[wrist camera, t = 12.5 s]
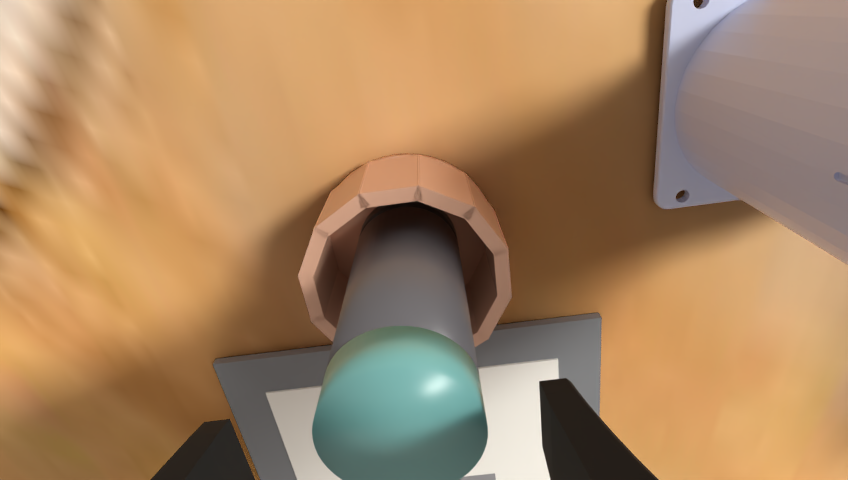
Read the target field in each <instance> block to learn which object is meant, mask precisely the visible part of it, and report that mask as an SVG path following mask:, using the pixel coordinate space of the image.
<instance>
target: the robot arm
mask: <svg viewBox="0 0 848 480" xmlns="http://www.w3.org/2000/svg"><path fill="white" fill-rule="evenodd" d="M693 1H694V0H667V4H666V15H665V30H664V44H663V59H662V74H661V88H660V103H659V118H658V132H657V147H656V162H655V176H654V191H653V199H654V202H655V203H656V204H657V205H658V206H659V207H661V208H663V209H674V208H681V207H689V206H697V205H704V204H712V203H720V202H727V201H735V200H742V201H744V202H746V203H747V204H749V205H751V206H752V207H754V208H755V209H757V210H759V211H760V212H762V213H764V214H765V215H767V216H769V217H770V218H772V219H773V220H775V221H777V222H778V223H780V224H782V225H783V226H785V227H787V228H788V229H790V230H792V231H793V232H795V233H796V234H798V235H800V236H801V237H803V238H805V239H806V240H808V241H810V242H811V243H813V244H814V245H816V246H818V247H819V248H821V249H823V250H824V251H826V252H828V253H829V254H831V255H832V256H834V257H836V258H837V259H839V260H841V261H842V262H844V263H846V264H847V265H848V0H703V2H702V4H701V5H700V6H699V7H698V8H696V7H695V6H694V3H693ZM682 190H684V191H685V192H684V195H683V196H682V197H681V198H679V199H676V195H677V193H678V192H679V191H682ZM539 390H540V411H541V431H542V447H543V451H544V455H545V459H546V464H547V468H548V472H549V476H550V480H658V479H657V478H656V477H655V476H654V475H653V474H652V473H651V472H650V471H649V470H648V469H647V468H646V467H645V466H644V465H643V464H642V463H641V462H640V461H639V460H638V459H637V458H636V457H635V456H634V455H633V454H632V452H631V451H630V450H629V449H628V448H627V447H626V446H625V445H624V444H623V443H622V442H621V441H620V440H619V439H618V438H617V436H616V435H615V434H614V433H613V432H612V431H611V430H610V429H609V428H608V426H607V425H606V424H605V423H604V422H603V421H602V420H601V418H600V417H599V416H598V415H597V414H596V413H595V411H594V410H593V409H592V408H591V407H590V405H589V404H588V403H587V402H586V400H585V399H584V398H583V397H582V395H581V394H580V393H579V392H578V390H577V389H576V388H575V386H574V385H573V384H572V382H571V381H570V380H568V379H567V378H561V379H553V380H545V381H539ZM151 480H255V479H254V476H253V474H252V472H251V469H250V467H249V464H248V462H247V460H246V457H245V455H244V452H243V450H242V448H241V445H240V443H239V440H238V438H237V436H236V433H235V431H234V428H233V426H232V424H231V421H230V419H226V420H218V421H210V422H204V423H203V424H202V425H201V426H200V427H199V428H198V429H197V430H196V431H195V432H194V433H193V434H192V435H191V436H190V438H189V439H188V440H187V441H186V442H185V443H184V444H183V445H182V446H181V447H180V448H179V449H178V451H177V452H176V453H175V454H174V455H173V456H172V457H171V458H170V459H169V460H168V461H167V463H166V464H165V465H164V466H163V467H162V468H161V469H160V470H159V471H158V472H157V473H156V474H155V476H154V477H153V478H152V479H151Z"/></svg>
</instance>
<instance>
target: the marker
mask: <svg viewBox="0 0 848 480" xmlns="http://www.w3.org/2000/svg"><path fill="white" fill-rule="evenodd" d="M312 439H313V443H314V447H315V449H316V451H317V454H318V456H319V457H320V459H321V460H322V462H323V463H324V464H325V465H326V467H327V468H328V469H329V470H330V471H331V472H333V473H334V474H335V475H336V476H337V477H339V478H340V479H342V480H460V479H461V478H463V477H464V476H465V475H466V474H468V473H469V472H470V471H471V470H472V469H473V468H474V467H475V466H476V464H477V463H478V461H479V460H480V459H481V457H482V455H483V453H484V451H485V448H486V444H487V439H488V426H487V419H486V413H485V407H484V401H483V395H482V389H481V382H480V376H479V370H478V364H477V358H476V352H475V345H474V339H473V333H472V327H471V321H470V315H469V308H468V302H467V296H466V290H465V284H464V278H463V271H462V265H461V259H460V253H459V247H458V241H457V235H456V230H455V228H454V225H453V223H452V221H451V219H450V218H449V217H448V215H447V214H446V213H445V212H444V211H443V210H440V209H437V208H435V207H432V206H429V205H427V204H424V203H421V202H419V201H413V202H406V203H398V204H391V205H384V206H378V207H377V208H376V209H374V210H373V211H372V212H371V213H370V214H369V216H368V217H367V218H366V220H365V222H364V224H363V226H362V229H361V232H360V236H359V240H358V244H357V248H356V252H355V256H354V260H353V264H352V268H351V272H350V276H349V280H348V284H347V288H346V292H345V296H344V300H343V304H342V308H341V312H340V316H339V320H338V324H337V328H336V332H335V336H334V340H333V344H332V348H331V352H330V356H329V360H328V364H327V368H326V372H325V376H324V380H323V384H322V388H321V392H320V396H319V400H318V403H317V407H316V411H315V415H314V419H313V425H312Z"/></svg>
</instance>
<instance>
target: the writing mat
mask: <svg viewBox="0 0 848 480" xmlns="http://www.w3.org/2000/svg"><path fill="white" fill-rule="evenodd" d="M601 320H602V318H601V316H600V314H599V313H591V314H583V315H575V316H567V317H558V318H550V319H542V320H534V321H525V322H517V323H509V324H500V325H496V326H495V328H494V330H493V332H492V333H491V335H490V337H489V339H488V340H486V341H484V342H483V343H481V344H479V345H478V346H476V347H475V352H476V358H477V364H478V370H479V376H480V382H481V389H482V395H483V401H484V407H485V413H486V419H487V426H488V439H487V444H486V448H485V451H484V453H483V455H482V457H481V459H480V460H479V461H478V463H477V464H476V466H475V467H474V468H473V469H472V470H471V471H470V472H469V473H468V474H466V475H465V476H464V477H463V478H461V479H460V480H550V476H549V472H548V468H547V464H546V459H545V455H544V451H543V447H542V431H541V411H540V390H539V381H545V380H553V379H561V378H567V379H568V380H570V381H571V382H572V384H573V385H574V386H575V388H576V389H577V390H578V392H579V393H580V394H581V395H582V397H583V398H584V399H585V400H586V402H587V403H588V404H589V405H590V407H591V408H592V409H593V410H594V411H595V413H596V414H597V415H598V416H599V411H600V366H601ZM331 348H332V345H326V346H318V347H310V348H302V349H293V350H285V351H277V352H268V353H260V354H252V355H244V356H235V357H227V358H219V359H215V361H214V363H213V367H214V369H215V371H216V374H217V376H218V379H219V381H220V384H221V386H222V388H223V391H224V393H225V396H226V398H227V400H228V403H229V405H230V408H231V410H232V413H233V415H234V417H235V420H236V422H237V425H238V427H239V429H240V432H241V434H242V437H243V439H244V441H245V444H246V446H247V449H248V451H249V454H250V456H251V458H252V461H253V463H254V466H255V468H256V470H257V473H258V475H259V478H260V480H342V479H340V478H339V477H337V476H336V475H335V474H334V473H333V472H331V471H330V470H329V469H328V468H327V467H326V465H325V464H324V463H323V462H322V460H321V459H320V457H319V456H318V454H317V451H316V449H315V447H314V443H313V439H312V425H313V419H314V415H315V411H316V407H317V403H318V400H319V396H320V392H321V388H322V384H323V380H324V376H325V372H326V368H327V364H328V360H329V356H330V352H331Z"/></svg>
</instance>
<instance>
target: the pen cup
mask: <svg viewBox="0 0 848 480" xmlns="http://www.w3.org/2000/svg"><path fill="white" fill-rule="evenodd" d="M413 201H419V202H421V203H424V204H427V205H429V206H432V207H435V208H437V209H440V210H443V211H444V212H445V213H446V214H447V215H448V217H449V218H450V219H451V221H452V223H453V225H454V228H455V230H456V235H457V241H458V247H459V253H460V259H461V265H462V271H463V278H464V284H465V290H466V296H467V302H468V308H469V315H470V321H471V327H472V333H473V339H474V345H475V347H476V346H478V345H479V344H481V343H483V342H484V341H486V340H488V339H489V337H490V335H491V333H492V332H493V330H494V328H495V326H496V325H497V323H498V321H499V319H500V318H501V316H502V314H503V312H504V310H505V309H506V307H507V305H508V303H509V302H510V300H511V298H512V293H511V279H510V265H509V251H508V250H509V249H508V246H507V243H506V240H505V238H504V235H503V232H502V230H501V227H500V224H499V221H498V219H497V216H496V213H495V211H494V209H493V208H492V206H491V205H490V204H489V203H488V201H487V200H486V198H485V196H484V195H483V193H482V192H481V190H480V189H479V187H478V186H477V185H476V184H475V183H474V182H473V180H472V179H471V178H470V177H468V175H467V174H466V173H465V172H462V171H461V170H459V169H458V168H456V167H455V166H453V165H451V164H449V163H447V162H445V161H443V160H440V159H437V158H434V157H431V156H426V155H420V154H394V155H389V156H384V157H381V158H378V159H375V160H372V161H369V162H368V163H366V164H364V165H362V166H360V167H359V168H357V169H356V170H354V171H353V172H351V173H350V174H349V175H348V176H347V177H346V178H345V179H344V180H343V181H342V182H341V183H340V184H339V185H338V186H337V187H336V188H335V189H333V190H331V192H330V194H329V196H328V198H327V200H326V202H325V205H324V207H323V209H322V211H321V213H320V215H319V218H318V220H317V222H316V224H315V226H314V228H313V229H314V230H313V233H312V236H311V239H310V242H309V245H308V248H307V251H306V254H305V257H304V260H303V263H302V265H301V268H300V271H299V273H298V278H299V281H300V285H301V288H302V292H303V295H304V299H305V302H306V306H307V309H308V313H309V316H310V319H311V323H313V324H314V325H315V326H316V327H317V328H318V329H319V330H320V331H321V332H322V333H323V334H324V335H325V336H327V337H328V338H329V339H330V340H331V341H332V342H333V340H334V336H335V332H336V328H337V324H338V320H339V316H340V312H341V308H342V304H343V300H344V296H345V292H346V288H347V284H348V280H349V276H350V272H351V268H352V264H353V260H354V256H355V252H356V248H357V244H358V240H359V236H360V232H361V229H362V226H363V224H364V222H365V220H366V218H367V217H368V216H369V214H370V213H371V212H372V211H373V210H374V209H376V208H377V207H378V206H384V205H391V204H398V203H406V202H413Z"/></svg>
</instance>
